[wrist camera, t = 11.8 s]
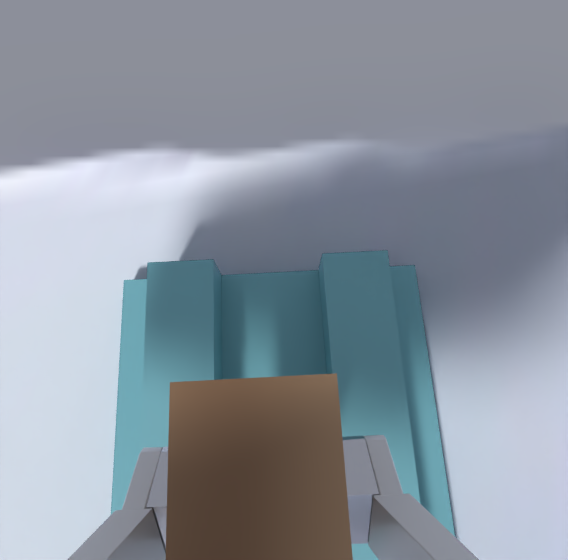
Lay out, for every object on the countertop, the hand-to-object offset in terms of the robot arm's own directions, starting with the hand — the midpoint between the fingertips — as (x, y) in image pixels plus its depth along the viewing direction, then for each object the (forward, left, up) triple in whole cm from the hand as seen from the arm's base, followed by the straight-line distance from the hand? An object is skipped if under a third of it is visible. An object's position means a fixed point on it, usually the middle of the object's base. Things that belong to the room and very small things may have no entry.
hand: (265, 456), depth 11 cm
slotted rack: (0, 0, -10) cm, 10 cm away
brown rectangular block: (0, 0, -5) cm, 5 cm away
